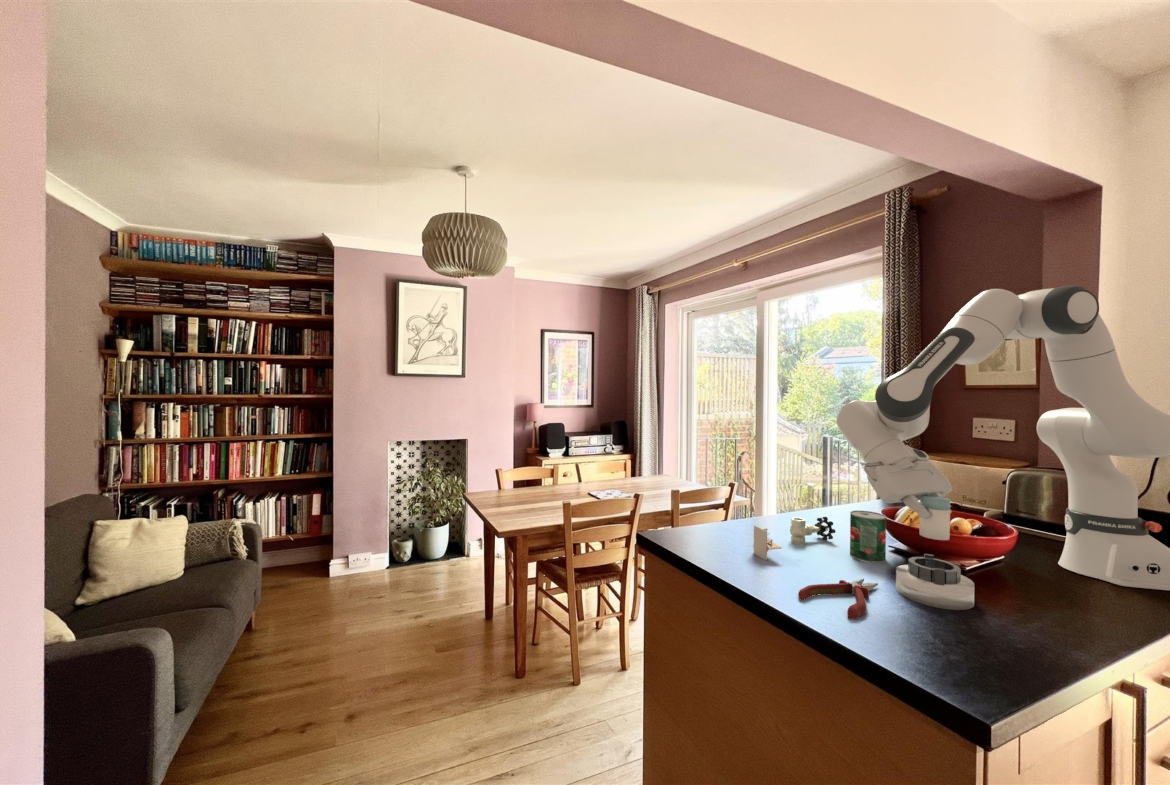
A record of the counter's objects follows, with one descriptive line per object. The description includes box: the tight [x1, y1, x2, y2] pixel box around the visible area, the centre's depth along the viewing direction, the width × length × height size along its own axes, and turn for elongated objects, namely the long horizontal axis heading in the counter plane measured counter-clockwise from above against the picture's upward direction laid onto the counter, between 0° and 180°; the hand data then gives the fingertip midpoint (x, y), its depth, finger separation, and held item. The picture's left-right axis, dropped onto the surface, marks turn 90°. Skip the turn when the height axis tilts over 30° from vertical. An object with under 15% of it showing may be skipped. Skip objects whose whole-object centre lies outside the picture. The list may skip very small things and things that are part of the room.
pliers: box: [797, 578, 879, 620], centre depth 96 cm, size 12×20×3 cm, turn 126°
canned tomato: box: [849, 510, 887, 564], centre depth 119 cm, size 8×8×11 cm
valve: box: [789, 516, 836, 545], centre depth 132 cm, size 7×7×12 cm
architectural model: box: [753, 525, 782, 561], centre depth 118 cm, size 3×7×7 cm, turn 12°
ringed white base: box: [895, 553, 975, 611], centre depth 98 cm, size 13×16×7 cm
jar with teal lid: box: [919, 495, 951, 541], centre depth 96 cm, size 5×5×8 cm
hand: (937, 516), depth 96 cm, fingers closed on jar with teal lid, 5 cm apart
